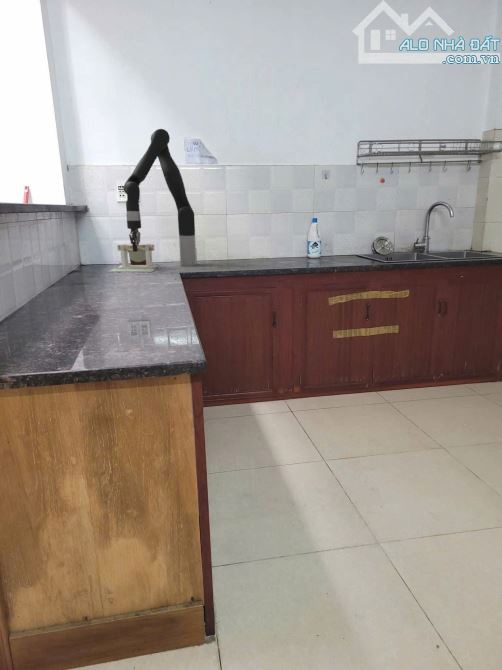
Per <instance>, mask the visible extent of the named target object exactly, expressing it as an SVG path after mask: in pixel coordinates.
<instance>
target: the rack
mask: <svg viewBox="0 0 502 670" xmlns="http://www.w3.org/2000/svg"><path fill="white" fill-rule="evenodd" d="M119 245H120V250H121V251H120V261H121V265H120V266H118V267H117V269H156V268H157V264H153V256H152V254H153V253H152V252H153V251H149V245H152V244H149V243H148V244H144V245H145V254H146V265H131V264H129V252H128V251H125V249H124V245H125V244H119Z"/></svg>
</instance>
